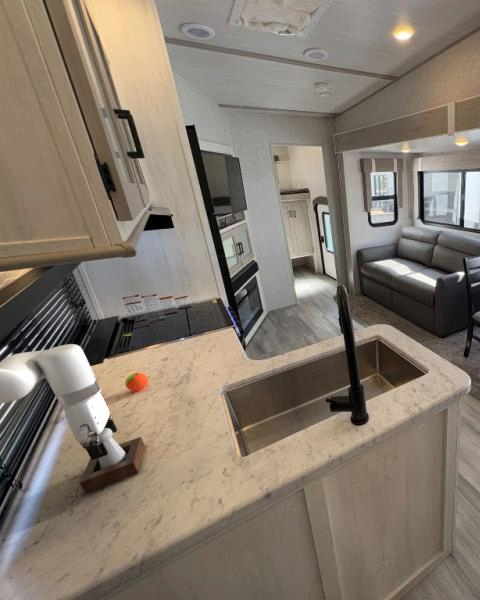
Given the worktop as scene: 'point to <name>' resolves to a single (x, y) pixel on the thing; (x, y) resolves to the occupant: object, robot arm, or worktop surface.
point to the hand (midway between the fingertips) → (105, 444)
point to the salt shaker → (110, 450)
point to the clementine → (136, 382)
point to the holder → (113, 467)
